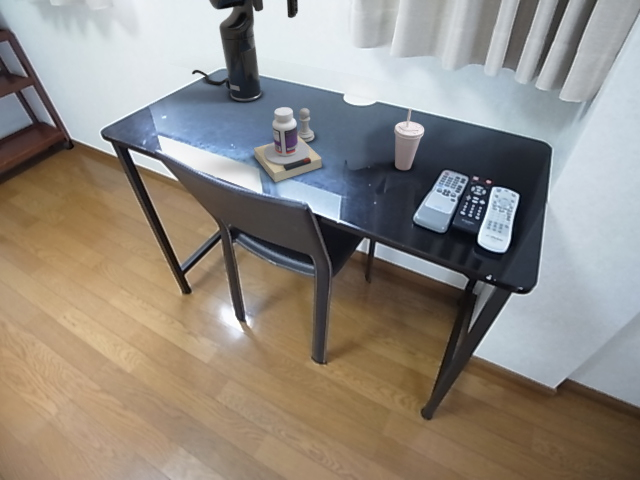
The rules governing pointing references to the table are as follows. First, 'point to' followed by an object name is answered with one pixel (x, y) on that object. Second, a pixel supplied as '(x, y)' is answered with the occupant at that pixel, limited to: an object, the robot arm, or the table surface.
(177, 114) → the table surface
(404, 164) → the smoothie
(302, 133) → the chess piece
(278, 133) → the pill bottle
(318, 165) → the scale
